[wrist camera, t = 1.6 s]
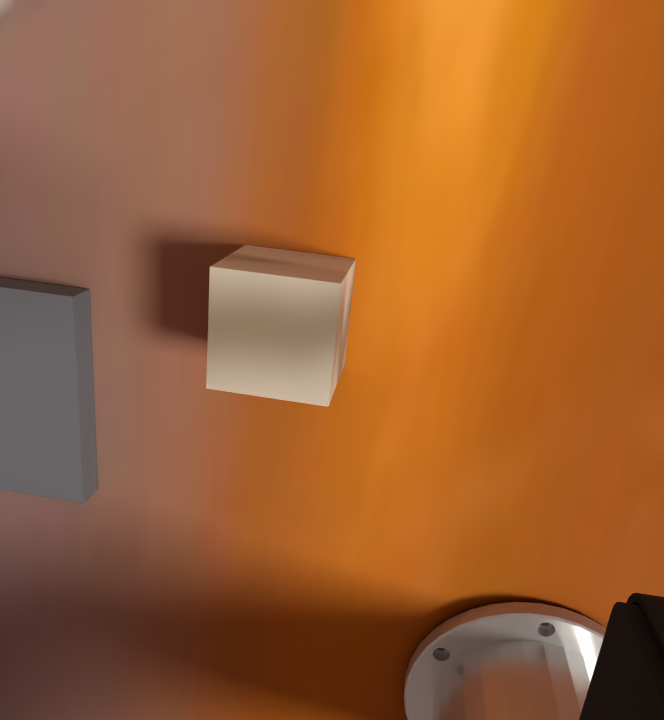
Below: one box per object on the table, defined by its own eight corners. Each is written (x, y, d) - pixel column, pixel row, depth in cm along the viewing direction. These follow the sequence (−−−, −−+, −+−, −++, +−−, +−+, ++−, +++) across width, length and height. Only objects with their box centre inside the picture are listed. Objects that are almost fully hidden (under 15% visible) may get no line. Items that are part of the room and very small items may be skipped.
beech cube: (344, 363, 30) (328, 406, 25) (241, 348, 30) (206, 388, 26) (356, 258, 28) (340, 283, 23) (246, 244, 29) (209, 266, 24)
